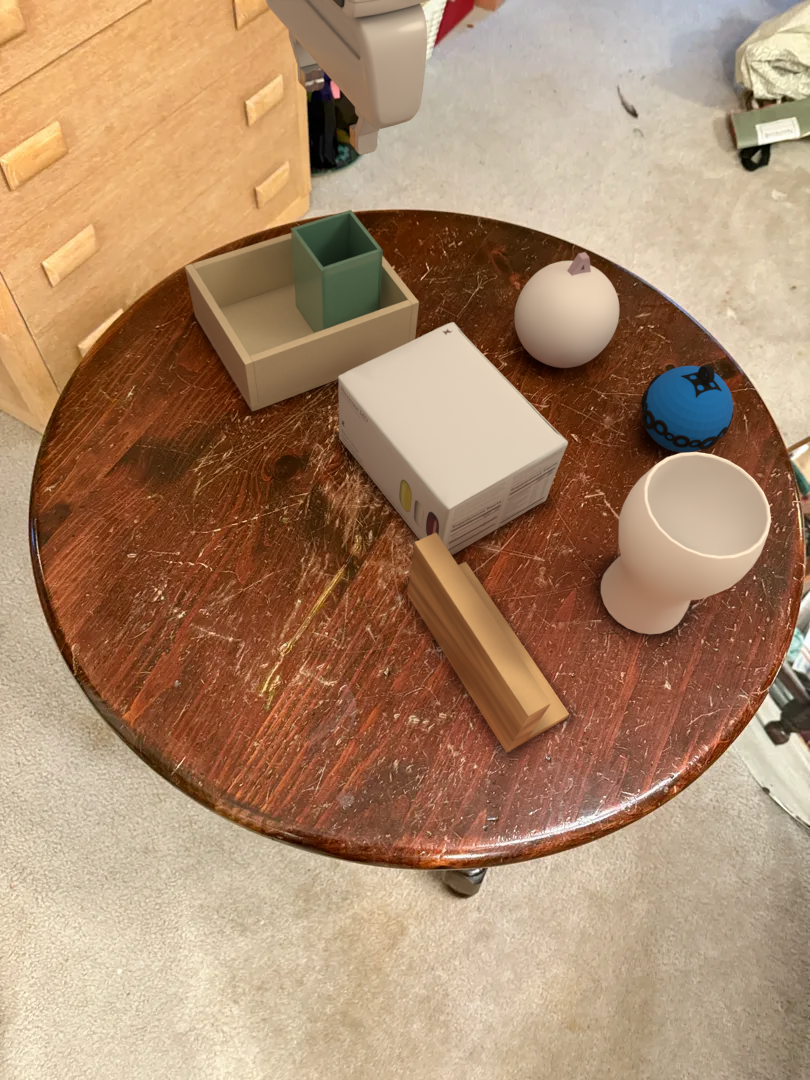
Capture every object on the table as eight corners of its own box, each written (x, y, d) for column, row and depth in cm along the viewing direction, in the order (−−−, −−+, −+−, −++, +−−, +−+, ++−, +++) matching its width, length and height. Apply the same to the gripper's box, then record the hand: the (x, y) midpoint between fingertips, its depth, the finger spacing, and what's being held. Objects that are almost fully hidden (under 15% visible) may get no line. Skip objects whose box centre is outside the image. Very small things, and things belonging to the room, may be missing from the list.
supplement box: (335, 439, 80) (334, 374, 72) (443, 385, 84) (453, 318, 76) (437, 566, 73) (448, 509, 65) (548, 500, 78) (571, 440, 70)
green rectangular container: (351, 358, 89) (276, 326, 79) (323, 319, 91) (248, 283, 82) (423, 275, 84) (352, 231, 74) (392, 236, 87) (320, 189, 77)
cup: (631, 524, 77) (690, 423, 64) (724, 598, 73) (806, 507, 61) (560, 592, 73) (607, 498, 60) (655, 674, 69) (727, 593, 56)
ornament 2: (729, 458, 82) (775, 391, 73) (655, 480, 80) (693, 414, 71) (686, 395, 86) (724, 325, 77) (614, 414, 84) (645, 344, 75)
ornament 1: (548, 302, 91) (574, 211, 81) (621, 353, 88) (657, 264, 78) (488, 348, 87) (507, 257, 77) (562, 402, 84) (593, 315, 74)
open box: (252, 412, 81) (244, 364, 75) (195, 316, 87) (184, 265, 81) (414, 350, 86) (419, 302, 81) (349, 265, 92) (350, 214, 87)
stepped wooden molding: (506, 753, 65) (528, 716, 57) (406, 594, 72) (414, 542, 64) (567, 718, 67) (596, 677, 59) (464, 566, 73) (478, 512, 66)
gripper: (231, -132, 60) (250, 60, 71) (363, 5, 51) (359, 197, 63) (309, -144, 61) (314, 45, 73) (449, -14, 53) (430, 176, 65)
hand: (336, 116), depth 68 cm, fingers open, 8 cm apart
